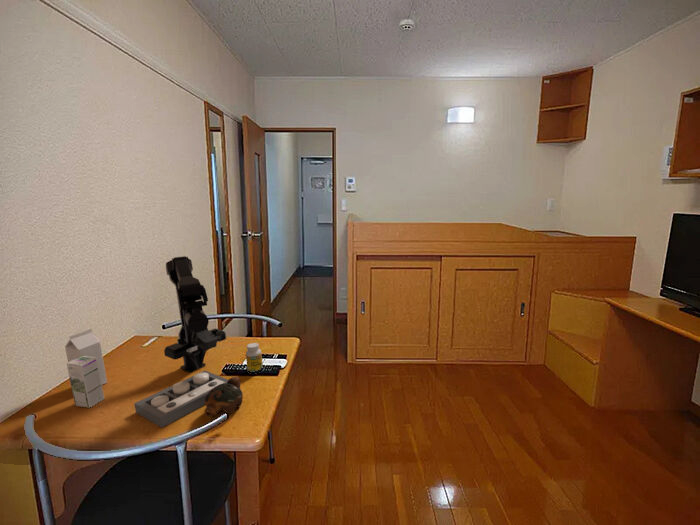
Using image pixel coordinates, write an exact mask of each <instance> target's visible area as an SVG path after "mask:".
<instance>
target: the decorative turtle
mask: <svg viewBox="0 0 700 525" xmlns="http://www.w3.org/2000/svg"><path fill="white" fill-rule="evenodd" d="M243 397H244V396H243V391H242V390H241V380H240V378H239V376H231V377H230V378H229V379H228V381H227V383H224V384H220V385H217V386H216V387H214V388H213V389H212V390H210V391H209V393H208V394H207V395H206V397H205V400H204V402H205V405H204V406H205V409H204V411H203V412H204V414H205V415H206V416H207V417H208V418H212V417H214V416H216V414H218V413H219V412H221V410H223V411H224V412H226V413H227V414H229V415H230V414H232V413H234V410H235V409H236V407H237V408H240V407H241V406H242V404H243Z"/></svg>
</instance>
